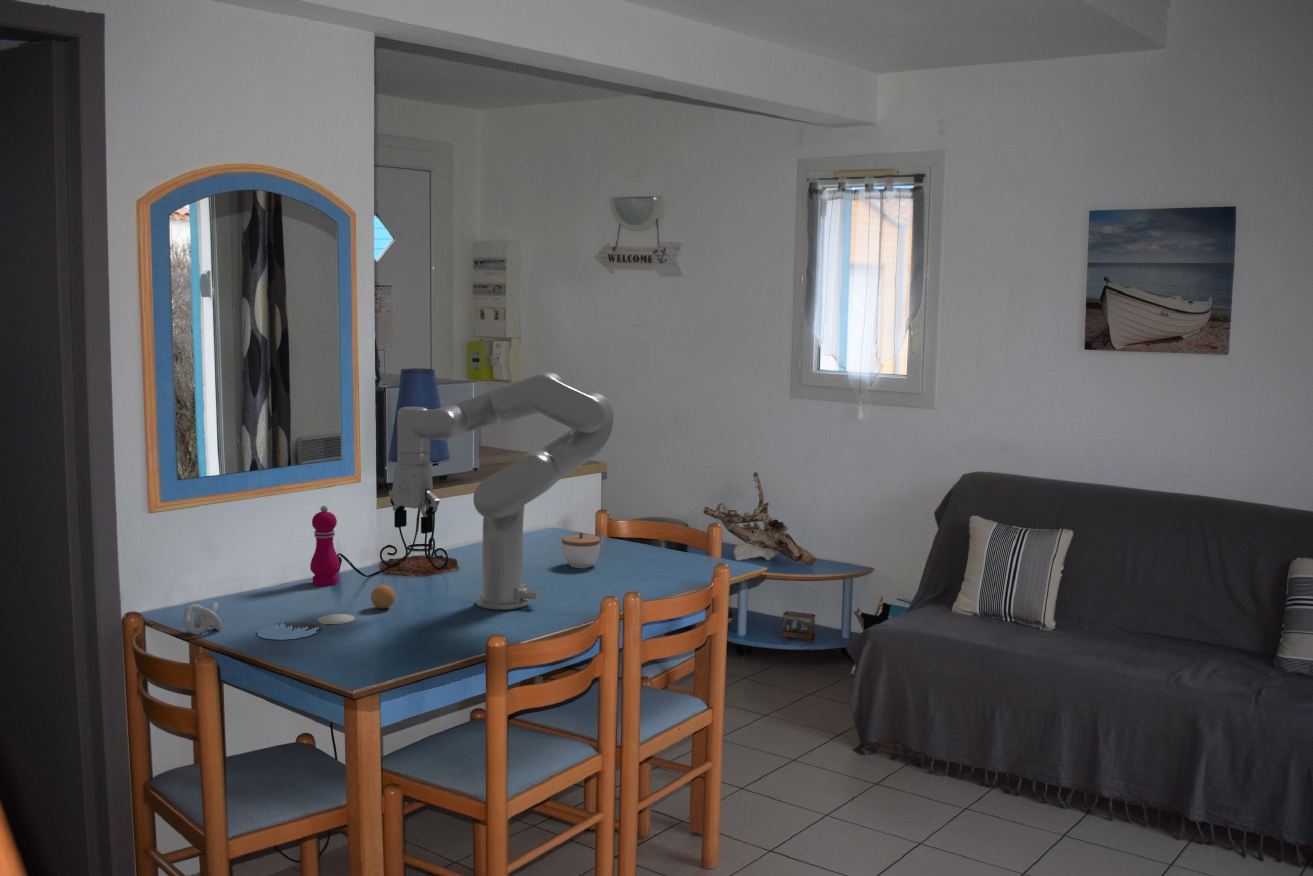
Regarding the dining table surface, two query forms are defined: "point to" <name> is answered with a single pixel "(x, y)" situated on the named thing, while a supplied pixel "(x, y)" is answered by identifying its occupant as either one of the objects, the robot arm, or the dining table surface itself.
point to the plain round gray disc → (335, 619)
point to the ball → (383, 596)
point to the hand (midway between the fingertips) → (413, 529)
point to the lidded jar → (581, 550)
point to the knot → (206, 621)
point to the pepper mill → (324, 549)
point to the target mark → (301, 625)
